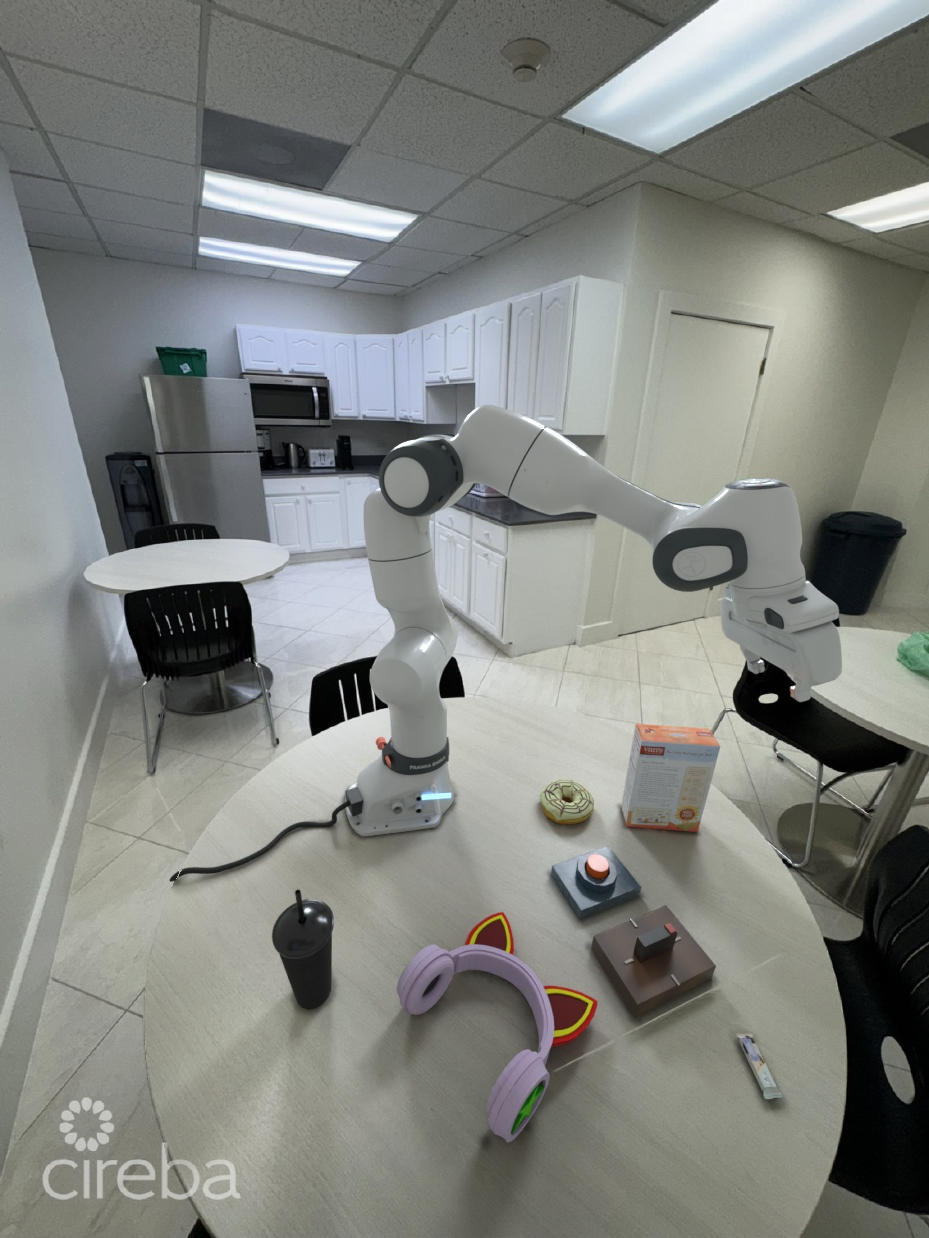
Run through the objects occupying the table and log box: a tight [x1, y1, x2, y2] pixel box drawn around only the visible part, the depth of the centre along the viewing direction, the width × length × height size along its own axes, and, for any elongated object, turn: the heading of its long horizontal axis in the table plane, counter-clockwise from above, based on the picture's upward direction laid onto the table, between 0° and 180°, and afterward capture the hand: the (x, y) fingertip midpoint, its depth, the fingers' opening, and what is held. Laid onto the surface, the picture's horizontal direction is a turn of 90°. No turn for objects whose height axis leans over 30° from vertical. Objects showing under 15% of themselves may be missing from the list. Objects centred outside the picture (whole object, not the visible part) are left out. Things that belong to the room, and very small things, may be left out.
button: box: [586, 854, 609, 879], centre depth 83 cm, size 4×4×2 cm
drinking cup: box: [271, 888, 335, 1011], centre depth 65 cm, size 8×8×20 cm
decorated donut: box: [539, 778, 595, 825], centre depth 101 cm, size 10×11×4 cm
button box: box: [550, 845, 642, 920], centre depth 84 cm, size 12×9×4 cm
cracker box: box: [620, 723, 721, 833], centre depth 95 cm, size 14×6×21 cm, turn 84°
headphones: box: [396, 911, 599, 1143], centre depth 65 cm, size 20×10×20 cm
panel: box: [590, 905, 717, 1018], centre depth 73 cm, size 14×10×3 cm
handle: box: [634, 923, 678, 963], centre depth 71 cm, size 6×2×4 cm, turn 112°
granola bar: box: [735, 1032, 784, 1100], centre depth 62 cm, size 7×2×1 cm, turn 2°
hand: (777, 684), depth 71 cm, fingers open, 8 cm apart
